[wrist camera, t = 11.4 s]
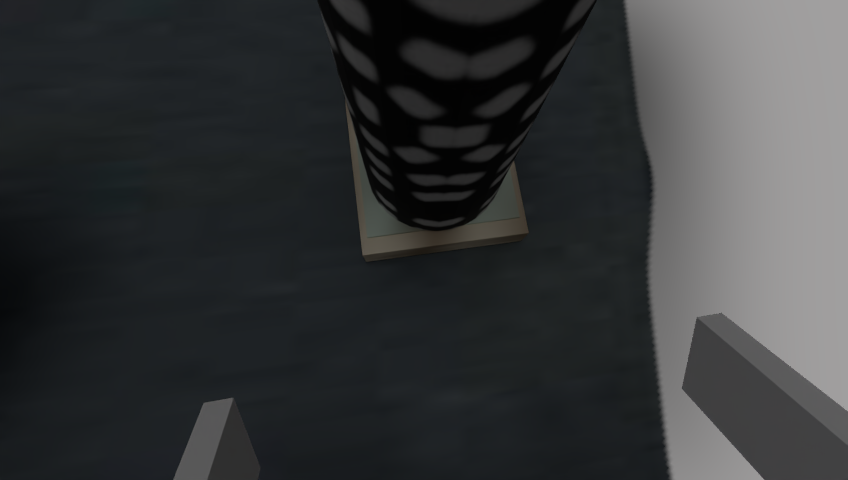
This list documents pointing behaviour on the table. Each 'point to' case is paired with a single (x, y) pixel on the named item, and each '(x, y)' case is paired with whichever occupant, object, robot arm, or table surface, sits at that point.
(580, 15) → the white-spotted black cylinder
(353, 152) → the beige rectangular board
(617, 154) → the table surface
